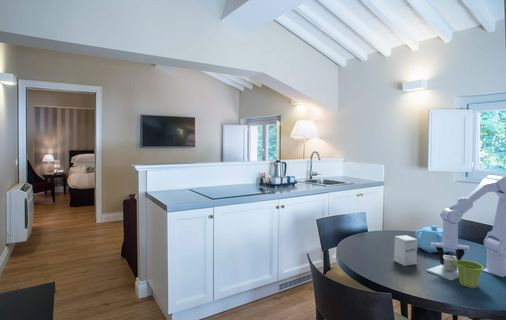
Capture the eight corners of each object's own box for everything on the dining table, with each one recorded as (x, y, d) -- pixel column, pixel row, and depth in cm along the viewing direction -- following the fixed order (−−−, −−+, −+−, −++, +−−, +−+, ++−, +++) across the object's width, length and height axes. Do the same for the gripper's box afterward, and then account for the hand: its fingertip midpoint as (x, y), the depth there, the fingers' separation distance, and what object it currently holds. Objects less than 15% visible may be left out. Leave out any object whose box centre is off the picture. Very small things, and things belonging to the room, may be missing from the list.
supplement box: (404, 266, 147) (405, 240, 147) (393, 260, 154) (394, 235, 154) (417, 264, 149) (417, 239, 148) (405, 259, 156) (406, 234, 156)
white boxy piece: (441, 265, 144) (441, 254, 144) (454, 266, 142) (454, 256, 142) (443, 269, 139) (443, 258, 138) (457, 271, 137) (458, 260, 137)
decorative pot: (426, 243, 180) (427, 220, 179) (456, 251, 166) (457, 226, 165) (410, 249, 171) (411, 224, 170) (441, 257, 158) (441, 231, 157)
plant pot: (471, 279, 133) (471, 259, 132) (488, 290, 123) (489, 268, 123) (449, 280, 132) (450, 260, 132) (465, 290, 123) (466, 269, 123)
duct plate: (448, 263, 150) (449, 253, 150) (473, 271, 141) (474, 261, 140) (426, 271, 141) (427, 261, 141) (451, 280, 132) (452, 269, 131)
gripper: (433, 236, 138) (432, 265, 139) (471, 239, 133) (470, 270, 134) (430, 231, 145) (429, 260, 146) (467, 234, 140) (466, 264, 140)
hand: (449, 264), depth 140 cm, fingers closed on white boxy piece, 5 cm apart
